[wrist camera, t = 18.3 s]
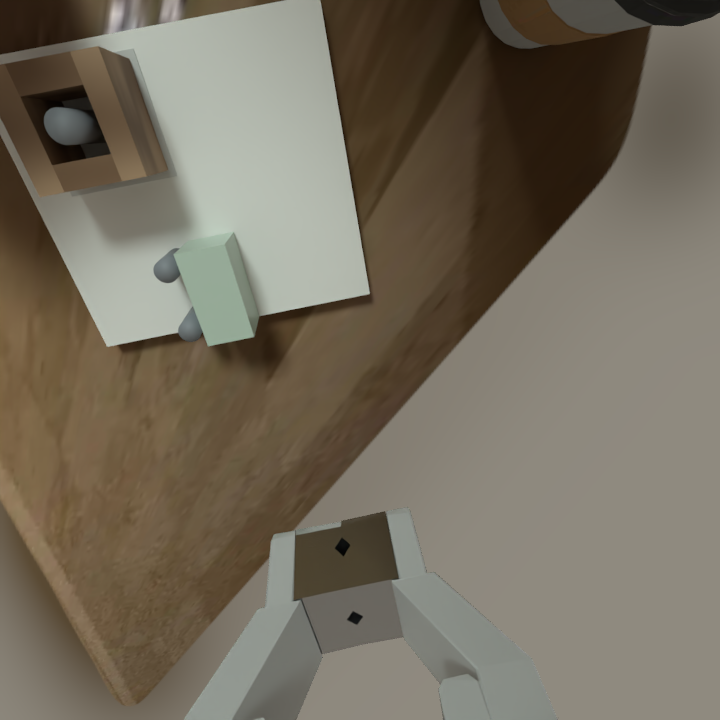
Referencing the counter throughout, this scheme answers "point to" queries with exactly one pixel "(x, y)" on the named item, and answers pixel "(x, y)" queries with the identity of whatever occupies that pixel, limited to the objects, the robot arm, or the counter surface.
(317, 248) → the base plate
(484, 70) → the counter surface
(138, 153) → the wooden square block
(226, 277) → the block
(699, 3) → the coffee cup
